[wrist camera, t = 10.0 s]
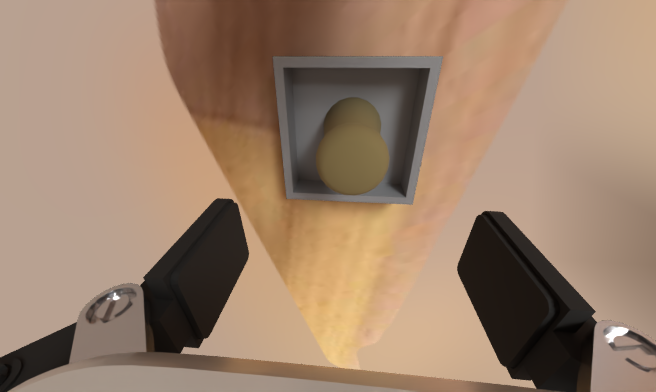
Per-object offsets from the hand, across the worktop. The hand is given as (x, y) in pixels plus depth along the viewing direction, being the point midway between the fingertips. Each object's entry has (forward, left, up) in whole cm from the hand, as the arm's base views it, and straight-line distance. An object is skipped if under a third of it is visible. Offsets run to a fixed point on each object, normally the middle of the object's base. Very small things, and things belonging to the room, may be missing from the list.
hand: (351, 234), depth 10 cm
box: (+1, 0, -19) cm, 19 cm away
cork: (0, 0, -18) cm, 18 cm away
